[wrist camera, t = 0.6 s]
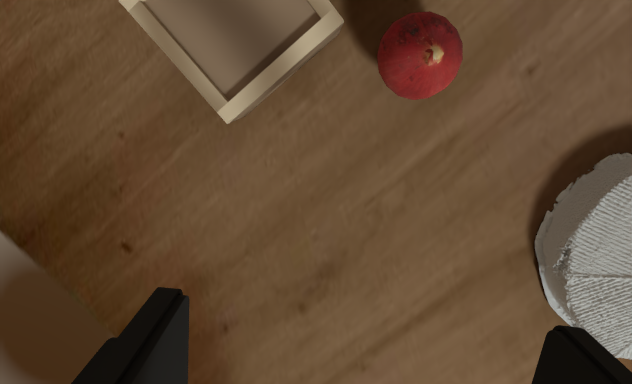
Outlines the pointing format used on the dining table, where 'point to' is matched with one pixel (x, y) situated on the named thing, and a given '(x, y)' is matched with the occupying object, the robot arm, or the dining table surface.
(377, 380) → the dining table surface
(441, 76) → the pomegranate
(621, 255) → the grey round flat slab
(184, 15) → the wooden open box
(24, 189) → the dining table surface
